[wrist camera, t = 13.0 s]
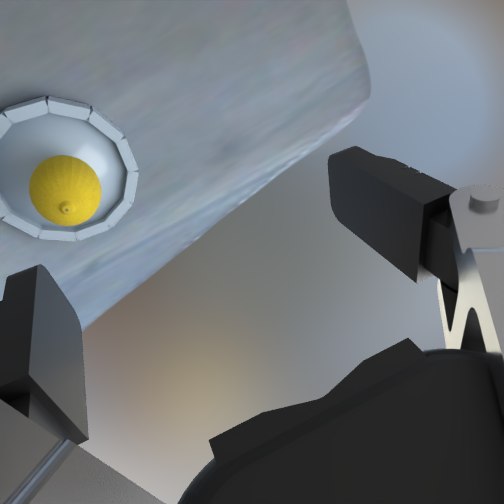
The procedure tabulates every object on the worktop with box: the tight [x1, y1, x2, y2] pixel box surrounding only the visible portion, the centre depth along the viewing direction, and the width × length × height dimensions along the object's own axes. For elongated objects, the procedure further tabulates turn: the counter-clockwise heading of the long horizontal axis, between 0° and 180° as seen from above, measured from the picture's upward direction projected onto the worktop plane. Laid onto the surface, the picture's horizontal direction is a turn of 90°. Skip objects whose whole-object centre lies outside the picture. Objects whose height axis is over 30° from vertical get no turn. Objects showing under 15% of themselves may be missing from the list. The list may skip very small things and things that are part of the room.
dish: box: [0, 96, 139, 241], centre depth 36 cm, size 13×13×2 cm
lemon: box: [29, 155, 101, 226], centre depth 33 cm, size 6×6×8 cm
